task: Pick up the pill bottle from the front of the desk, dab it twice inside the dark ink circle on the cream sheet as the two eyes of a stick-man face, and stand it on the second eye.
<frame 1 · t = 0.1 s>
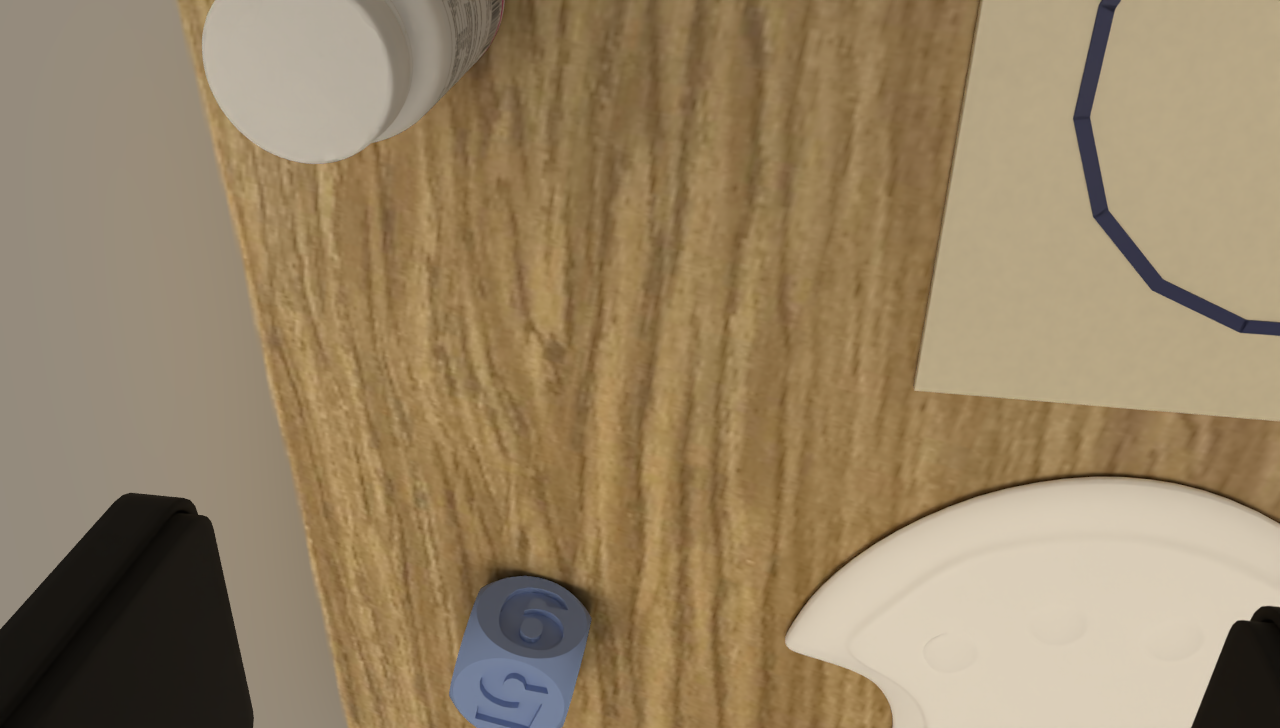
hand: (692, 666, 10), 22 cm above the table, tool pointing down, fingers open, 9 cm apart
decorative dice: (534, 612, 40), on the table
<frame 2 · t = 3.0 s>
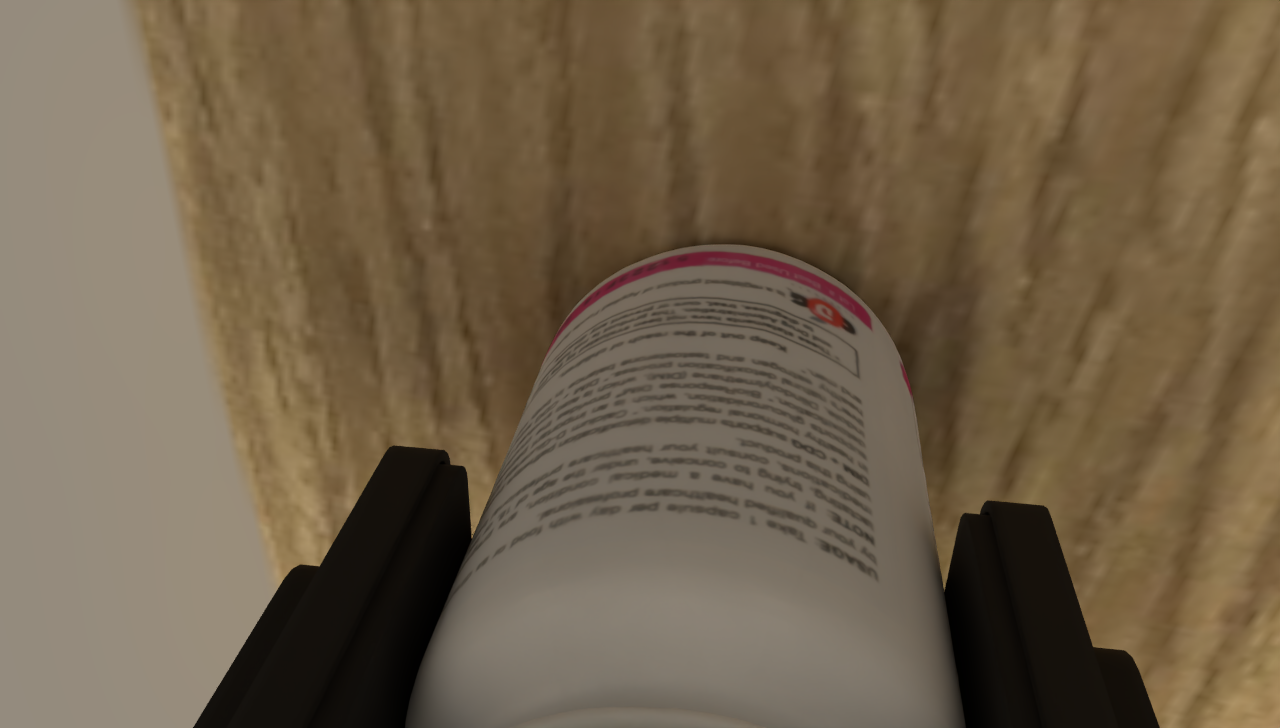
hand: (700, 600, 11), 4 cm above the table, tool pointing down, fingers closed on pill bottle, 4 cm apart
pill bottle: (723, 394, 14), on the table, touching gripper
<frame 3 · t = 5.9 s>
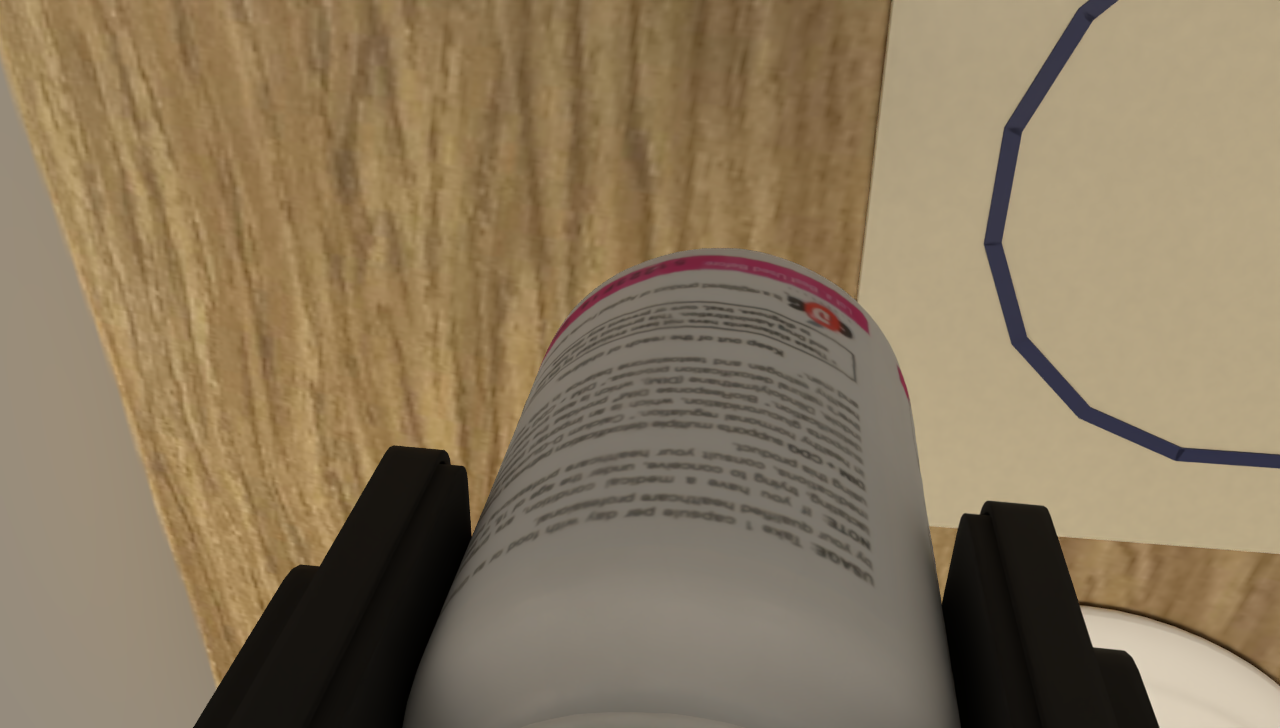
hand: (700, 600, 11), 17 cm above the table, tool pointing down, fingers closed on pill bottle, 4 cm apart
pill bottle: (721, 397, 14), point 13 cm above the table, touching gripper
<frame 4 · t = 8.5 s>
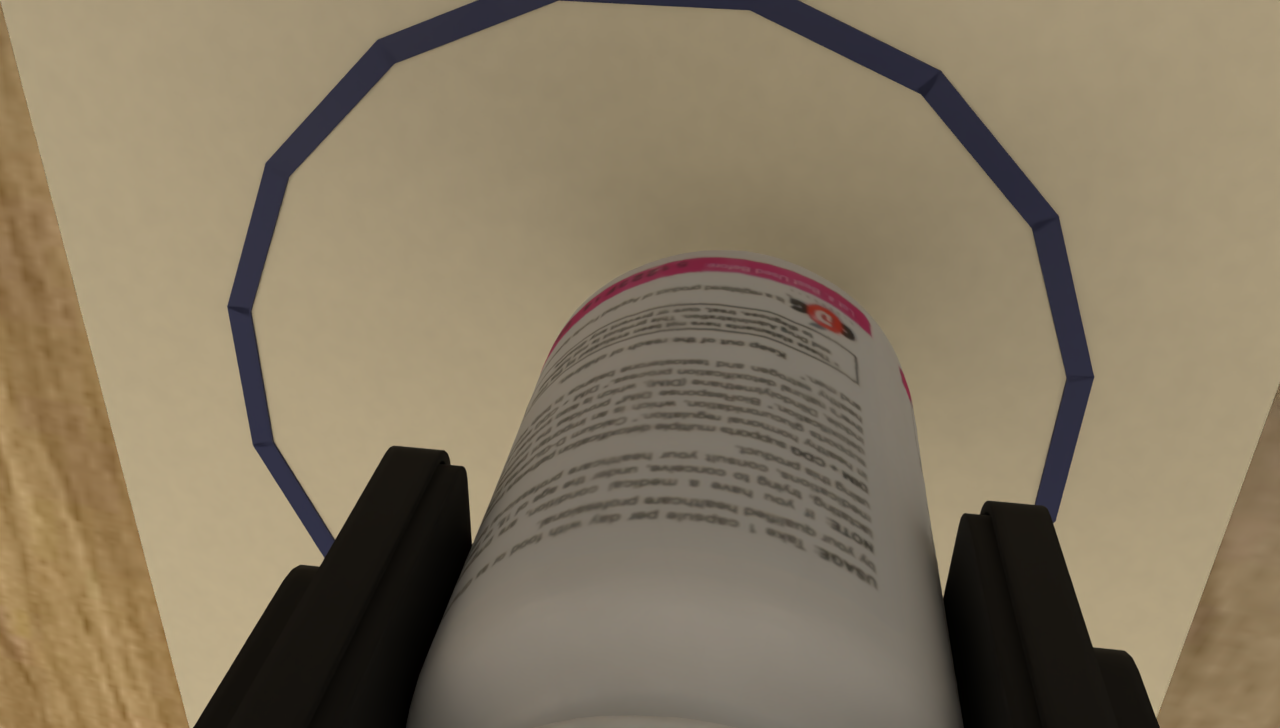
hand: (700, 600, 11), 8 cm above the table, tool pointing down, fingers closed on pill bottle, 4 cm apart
pill bottle: (723, 399, 14), point 4 cm above the table, touching gripper
sheet: (644, 402, 19), on the table
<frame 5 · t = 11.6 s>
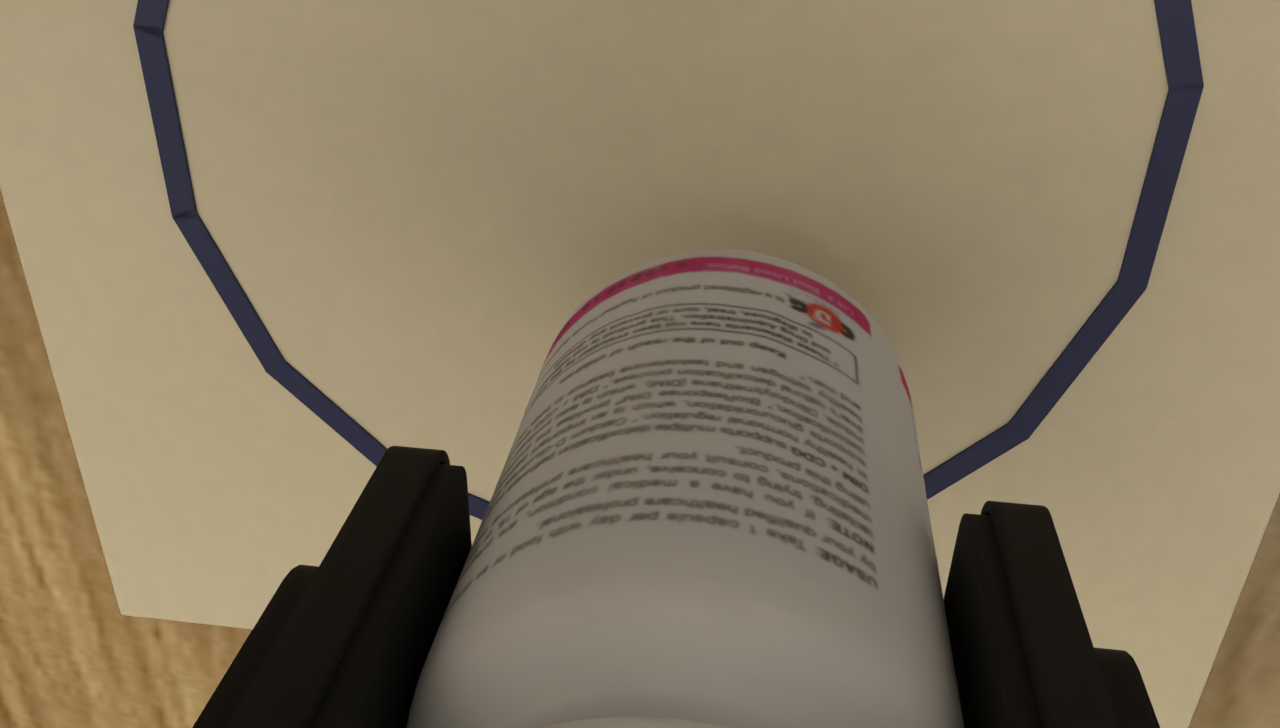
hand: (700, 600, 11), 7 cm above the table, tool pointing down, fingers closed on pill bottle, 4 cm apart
pill bottle: (722, 398, 14), point 3 cm above the table, touching gripper
sheet: (643, 149, 16), on the table
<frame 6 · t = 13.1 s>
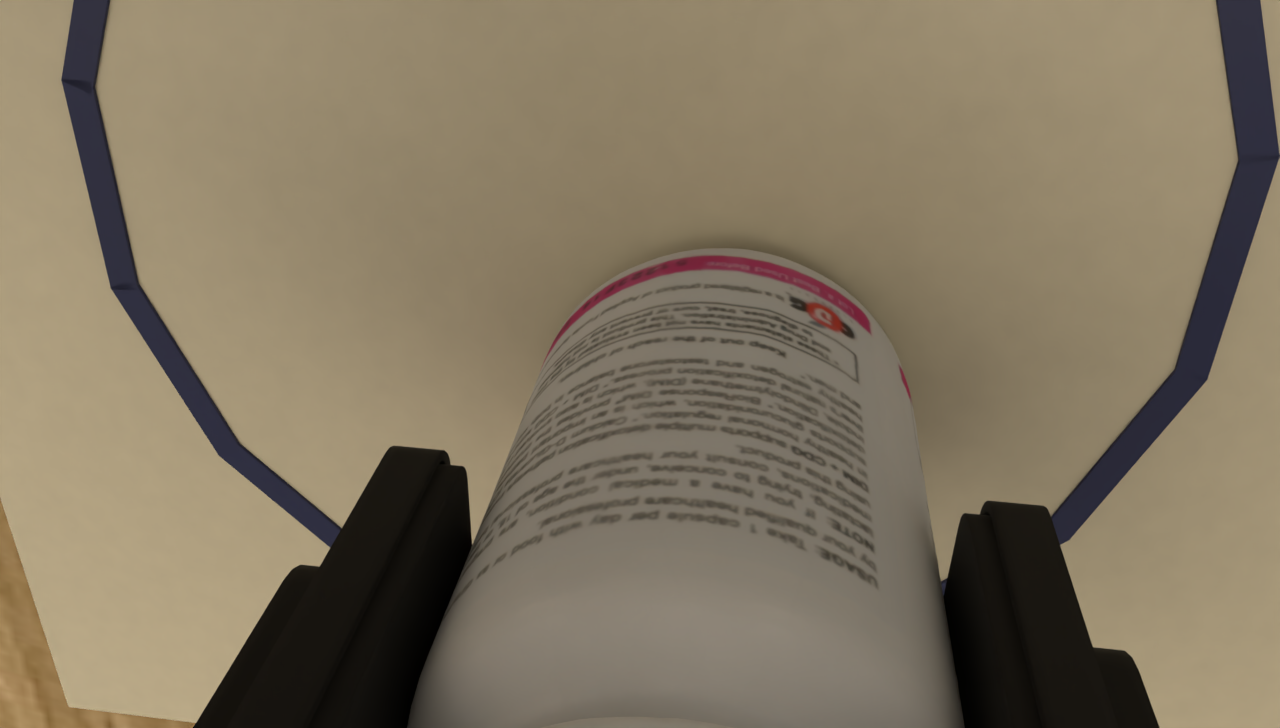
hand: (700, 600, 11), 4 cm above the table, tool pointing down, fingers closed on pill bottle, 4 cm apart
pill bottle: (723, 397, 14), resting on sheet, touching gripper
sheet: (636, 218, 14), on the table
when the fingers open (4 cm above the table, at t = 13.8 s): pill bottle stays where it is, resting on sheet.
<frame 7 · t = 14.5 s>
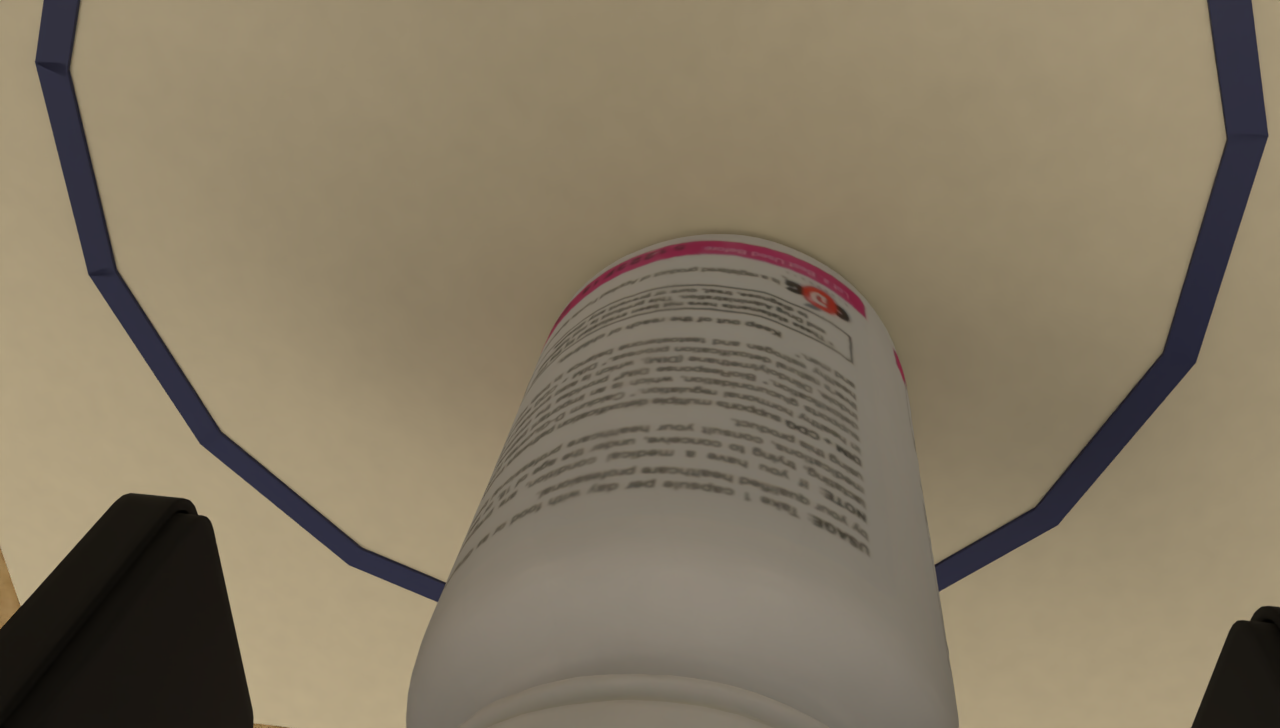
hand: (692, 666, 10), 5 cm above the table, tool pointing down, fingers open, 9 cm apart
pill bottle: (720, 383, 15), resting on sheet
sheet: (620, 201, 14), on the table
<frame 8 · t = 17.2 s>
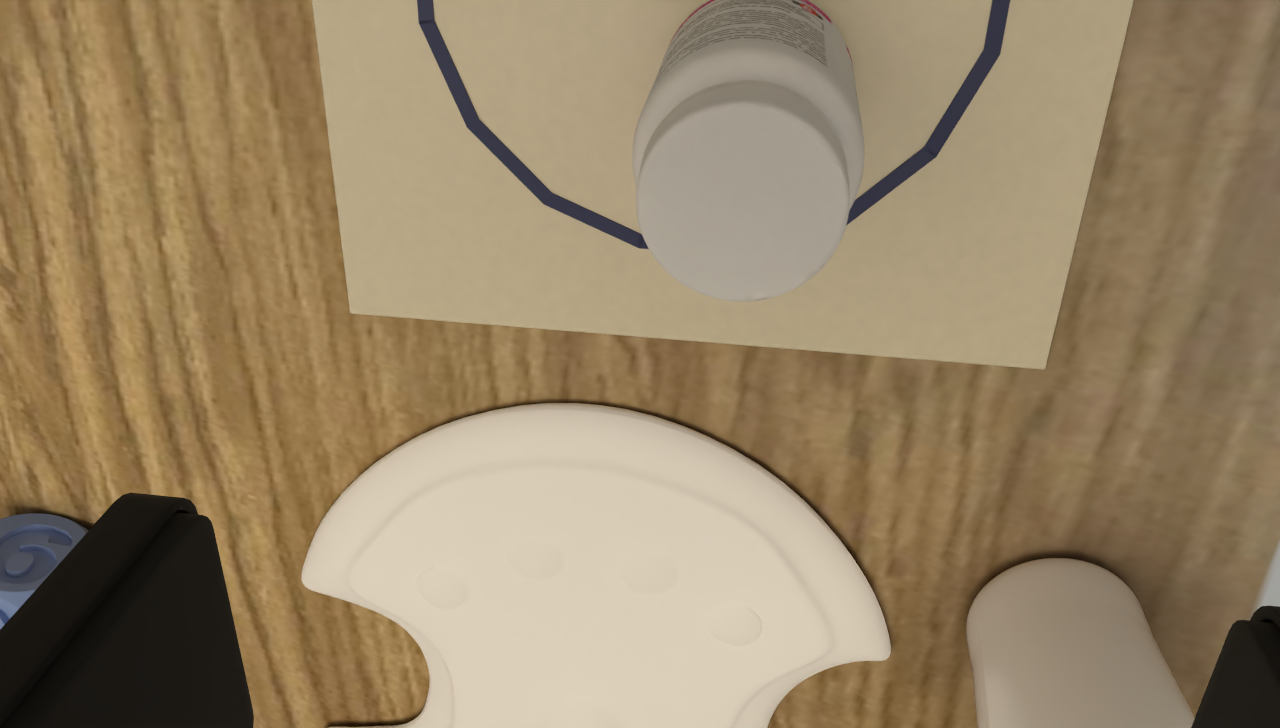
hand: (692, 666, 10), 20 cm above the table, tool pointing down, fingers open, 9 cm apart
decorative dice: (66, 553, 39), on the table
drinking glass: (1048, 609, 35), on the table
pill bottle: (756, 79, 28), resting on sheet
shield: (586, 691, 40), on the table
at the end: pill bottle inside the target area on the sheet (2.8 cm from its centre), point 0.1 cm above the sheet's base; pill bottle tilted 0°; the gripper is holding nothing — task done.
